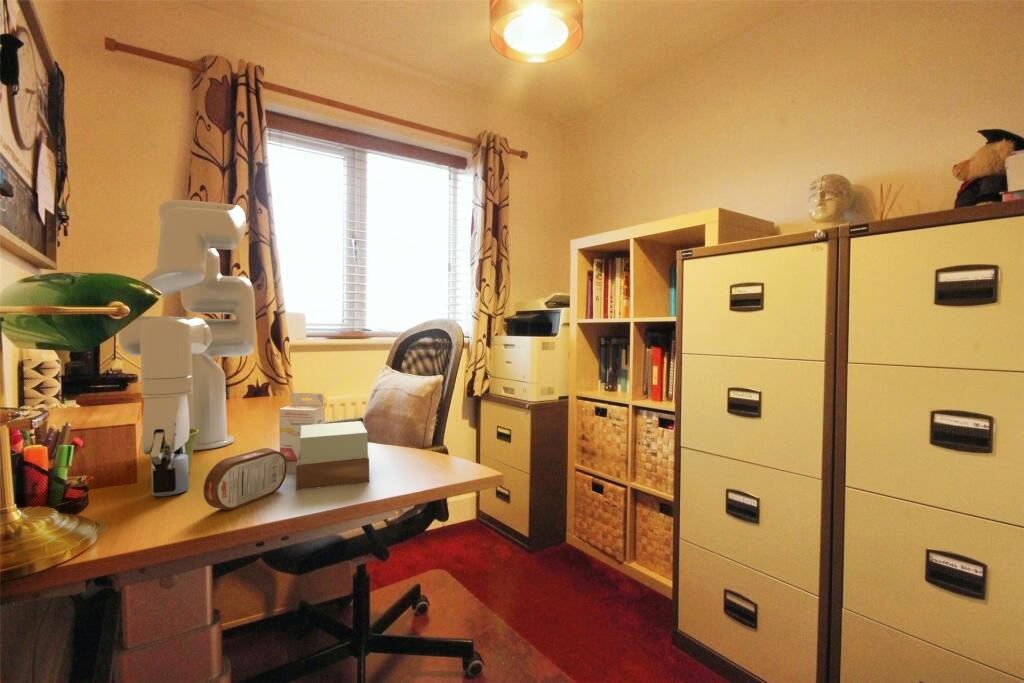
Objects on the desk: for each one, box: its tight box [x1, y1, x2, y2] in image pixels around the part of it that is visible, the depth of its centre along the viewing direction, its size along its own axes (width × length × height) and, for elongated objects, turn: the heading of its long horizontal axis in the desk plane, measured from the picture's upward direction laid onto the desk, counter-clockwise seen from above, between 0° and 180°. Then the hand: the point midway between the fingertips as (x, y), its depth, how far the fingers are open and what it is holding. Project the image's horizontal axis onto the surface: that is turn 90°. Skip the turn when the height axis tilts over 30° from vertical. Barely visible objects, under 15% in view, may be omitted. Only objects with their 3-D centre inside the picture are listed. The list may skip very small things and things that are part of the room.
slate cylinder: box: [150, 454, 190, 497], centre depth 89 cm, size 6×6×6 cm
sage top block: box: [300, 420, 369, 465], centre depth 98 cm, size 12×12×5 cm
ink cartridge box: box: [279, 392, 325, 462], centre depth 111 cm, size 9×5×15 cm, turn 84°
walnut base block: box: [295, 448, 370, 491], centre depth 99 cm, size 13×13×5 cm
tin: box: [202, 447, 288, 511], centre depth 85 cm, size 15×3×8 cm, turn 159°
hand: (170, 484), depth 89 cm, fingers closed on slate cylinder, 5 cm apart
